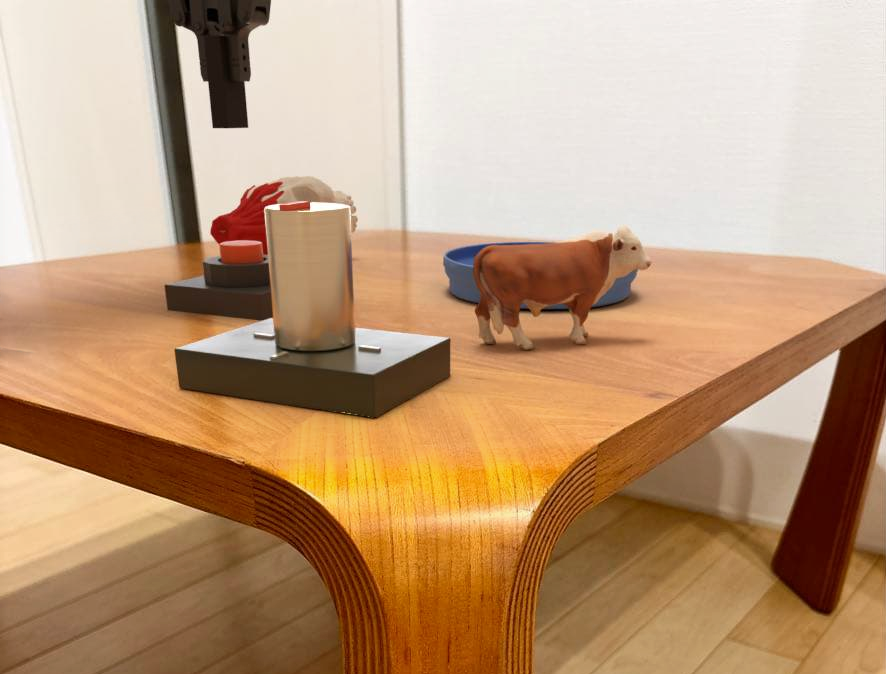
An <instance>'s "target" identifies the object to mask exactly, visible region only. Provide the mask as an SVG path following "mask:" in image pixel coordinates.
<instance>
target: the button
mask: <svg viewBox="0 0 886 674" xmlns="http://www.w3.org/2000/svg"><path fill="white" fill-rule="evenodd" d="M218 246H219V256H221V262H223V263H253V262H261V261H264V259H263V246H262V242H259V241H250V240H238V241H227V242H222V243H220V244H218Z"/></svg>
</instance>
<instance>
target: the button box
mask: <svg viewBox="0 0 886 674" xmlns="http://www.w3.org/2000/svg"><path fill="white" fill-rule="evenodd" d="M263 259H264V261H261V262H253V263H223V262H221V256H220V255H215V256H211V257H207V258H205V259H204V260H203V261H202V269H203V270H202V271H203V275H200V276H195V277H192V278H187V279H184V280H178V281H174V282H170V283H166V284H164V285H163V286H164V293H165V301H166V308H167V309H166V311H172V312H182V313H189V314H190V313H191V314H197V315H199V314H200V315H207V316H208V315H209V316H216V317H226V318H233V319H234V318H235V319H242V320H243V319H244V320H251V321H252V320H253V321H263V320H266V319H269V318H273V312H272V300H271V287H270V274H269V261H268V255H263Z"/></svg>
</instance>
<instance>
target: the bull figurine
mask: <svg viewBox="0 0 886 674" xmlns="http://www.w3.org/2000/svg"><path fill="white" fill-rule="evenodd" d="M652 263H653V261H652V258H651V257H650V256H649V254H648V253H647V251H646V249H645V247H644V246H643V243H642V241H641V240H640V239H639V238H638V236H637V235H636V234H634V233H633V232H632V230H631V229H630V228H629V227H628V226H627V225H622V226H619V227H618V228H617V230H616V231H615V232H613V233H609V232H606V231H602V230H591V231H588V232H587V233H585V234H583V235H582V236H579V237H573V238H569V239H566V240H562V241H557V242H556V243H548V244H527V245H490V246H487V247H485V248H483V249H482V250H481V251H480V252H479V253H478V254H477V256H476V257H475V259H474V264H473V275H474V280H475V283H476V285H477V287H478V289H479V291H480V292H481V299H480V302H479V303H477V305H476V306H475V309H474V314H475V316H476V320H477V323H478V330H479V331H478V338H479V339H481V340H482V341H483V343H485V344H486V345H494V344H496V343H497V340H496V337H495V336H494V333H493V332H492V329H491V324H492V327H493V330H494V331H495V332H496V333H497V334H498V335H501V334H503V332H504V327H505V326H506V328H508V330H509V331H510V333H511V335H512V340H513V344H514V346H516V347H520V346H521V348H522V349H523V350H533V349H535V345H534V343H533V342H532V341H531V340H530V338H529V337H528V336H527V335H526V333H524V331H523V328H522V325H521V322H520V310H521V309H520V306H521V303H524V304H525V305H527V306H528V308H529V309H528V310H529V311H530V312H531V314H532V316H533V317H534V318H537V317H539V316H540V315H541V311H542V310H544V309H543V308H544V307H547V306H551V305H555V304H559V303H561V304H564V305H566V306H568V307H569V309H568V311H569V315H570V316H571V318H572V321H573V326H572V329H571V332H570V333H569V338H570V340H571V341H574V343H576V345H586V344H587V341H586V338H585V337H588V336H589V332H588V331H587V330H586V328H585V326H584V323H585V322H586V321H587V319H588V316H589V313H590V310H591V308H593V307H592V305H594V304H595V303H597V302H598V300H599V299H600V297H601V296H602V295H604V294H605V293H606V292H607V291H608V290H609V289H610V288H611V287H612V285H613V283H614V281H615V279H616V278H620V277H624V276H626V275H628V274H629V273H630V272H632V271H633V270H635V269H638V271H639V270H640V271H646V270H648V269H650V267H651V265H652Z"/></svg>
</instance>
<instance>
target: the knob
mask: <svg viewBox="0 0 886 674" xmlns="http://www.w3.org/2000/svg"><path fill="white" fill-rule="evenodd" d="M264 211H265V223H266V236H267V249H268V261H269V274H270V287H271V300H272V312H273V325H274V338H275V344H276V345H277V346H278V347H280V348H283V349H287V350H293V351H329V350H336V349H341V348H345V347H348V346H350V345H352V344H354V343H355V340H356V339H355V328H356V319H355V318H356V317H355V294H354V293H355V291H354V272H353V271H354V269H353V267H354V266H353V243H352V242H353V241H352V234H351V215H352V214H351V215H350V206H348V205H344V204H335V203H310V201H300V202H293V203H287V204H276V205H270V206H267V207H265V209H264Z"/></svg>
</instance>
